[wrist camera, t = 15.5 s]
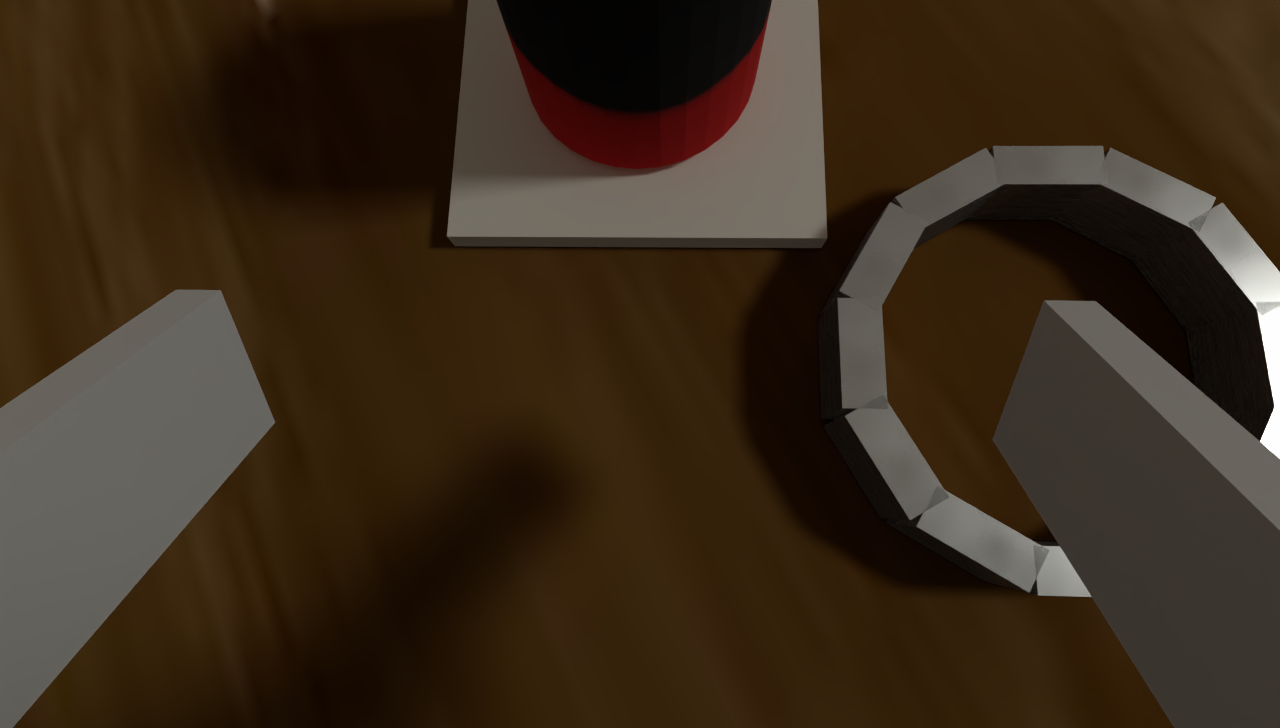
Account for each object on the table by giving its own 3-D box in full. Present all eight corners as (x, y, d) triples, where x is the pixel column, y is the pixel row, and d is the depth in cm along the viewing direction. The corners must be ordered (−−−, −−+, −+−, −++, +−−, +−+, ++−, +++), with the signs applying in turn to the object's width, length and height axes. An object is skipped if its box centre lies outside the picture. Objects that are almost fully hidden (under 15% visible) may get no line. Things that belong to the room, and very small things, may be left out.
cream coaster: (809, -64, 23) (814, -84, 22) (821, 248, 21) (827, 238, 20) (481, -60, 24) (474, -79, 23) (454, 246, 21) (446, 236, 20)
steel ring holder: (1201, 186, 21) (1270, 145, 18) (1271, 590, 18) (1362, 604, 16) (812, 185, 21) (831, 146, 19) (826, 578, 19) (850, 590, 16)
